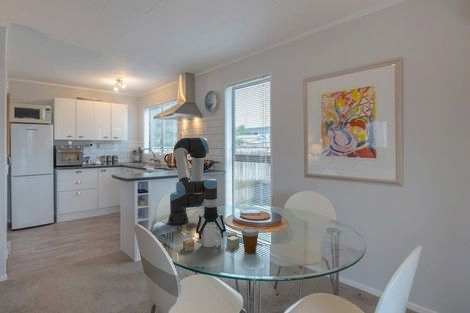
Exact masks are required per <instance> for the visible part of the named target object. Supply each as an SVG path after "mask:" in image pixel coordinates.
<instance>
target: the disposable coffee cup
mask: <svg viewBox="0 0 470 313" xmlns="http://www.w3.org/2000/svg"><path fill="white" fill-rule="evenodd" d="M259 233H260V231H259V229H258V228H256V227H252V226H251V227H250V226H249V227H243V228H242V230H241V234H242V242H243V249H244V253H245V254H249V255H250V254H251V255H252V254H255V253H257V248H258V237H259Z"/></svg>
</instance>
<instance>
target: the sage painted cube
mask: <svg viewBox="0 0 470 313" xmlns="http://www.w3.org/2000/svg"><path fill="white" fill-rule="evenodd" d="M226 247H227V248H229V249H231V250H234V249H236V248H239V247H240V237H238V236H237V237H235V236H231V237H228V236H227V237H226Z"/></svg>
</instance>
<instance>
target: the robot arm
mask: <svg viewBox="0 0 470 313" xmlns="http://www.w3.org/2000/svg"><path fill="white" fill-rule="evenodd" d="M209 148H210V147H209V143H208V139H207V138H206V137H183V138H180V139H179V140H177V142H175V145H174V146H173V148H172V149H173V150H172V151H173V157H174V158H175V163H176V170H177V179H178V180H177V182H176V183H175V191H173V192H171V193H170V195H169V201H170V202H169V203H170V204H169V205H170V206H169V207H170V208H169V209H170V210H169V216H168V220H167V223H169V224H168V225H170V224H172V225H171V226H183V225H187V224H188V223H189V220H190V219H189V216H188V214H187V209H190V208H203V211H204V212H203V213H204V214H203V215H200V214H199V215H198V221H197V224H196V225H197V226H196V229H195V234H198V239H199V240H200V246H203V236H202V231H203V228H205V226H206V225H208V223H215V225H216V226H217V229H218V231H219V232H220V233H221V236H220V235H219V234H218V235H219V236H218V239H219V240H218V241H220V239H221V240H222V239H223V238H224V233H225V232H226V231H227V229H226V225H225V222H224V217H223V214H219V213H218V180H217V179H215V178H205V179H204V161H205V160H204V159H205V158H206V157H207V155H208V154H209V152H210V149H209ZM188 155H189V157H190V158H191V170H190V166H189V160H188ZM190 171H191V172H190ZM218 218H219V219H220V222H221V226H222V227H221V226H220V223H219V222H218V221H217V220H218ZM203 219H204V222H203V224H202V225H201V223H202V220H203ZM221 237H222V238H221ZM219 245H222V241H221V242H220V243H219ZM203 247H204V246H203Z"/></svg>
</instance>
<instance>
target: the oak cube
mask: <svg viewBox="0 0 470 313" xmlns="http://www.w3.org/2000/svg"><path fill="white" fill-rule="evenodd" d="M182 248H183V250H184V251H185V252H191V251H195V240H194V239H193V238H191V237H190V238H187V239H183V240H182Z"/></svg>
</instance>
